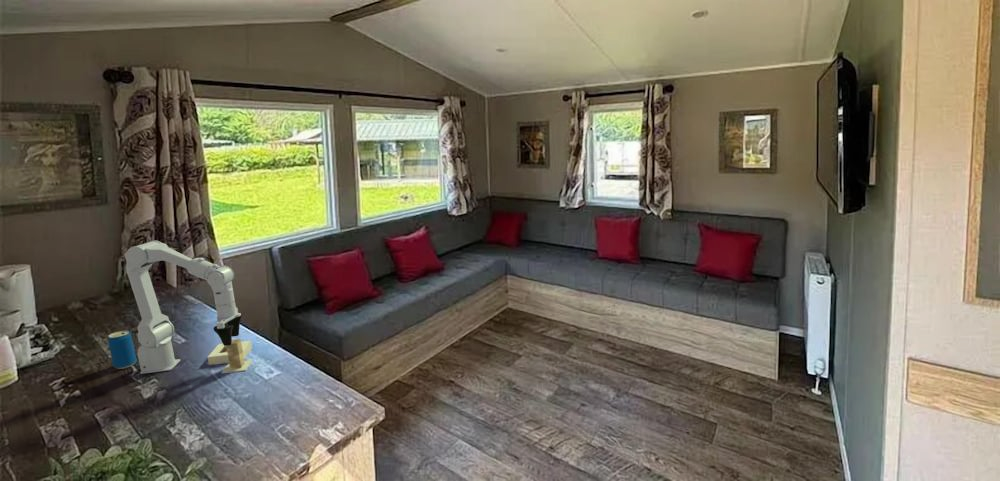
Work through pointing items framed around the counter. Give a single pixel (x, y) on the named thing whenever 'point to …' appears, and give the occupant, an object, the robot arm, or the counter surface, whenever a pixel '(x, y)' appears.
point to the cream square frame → (221, 358)
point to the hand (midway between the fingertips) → (231, 340)
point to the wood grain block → (235, 354)
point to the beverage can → (122, 349)
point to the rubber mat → (244, 368)
